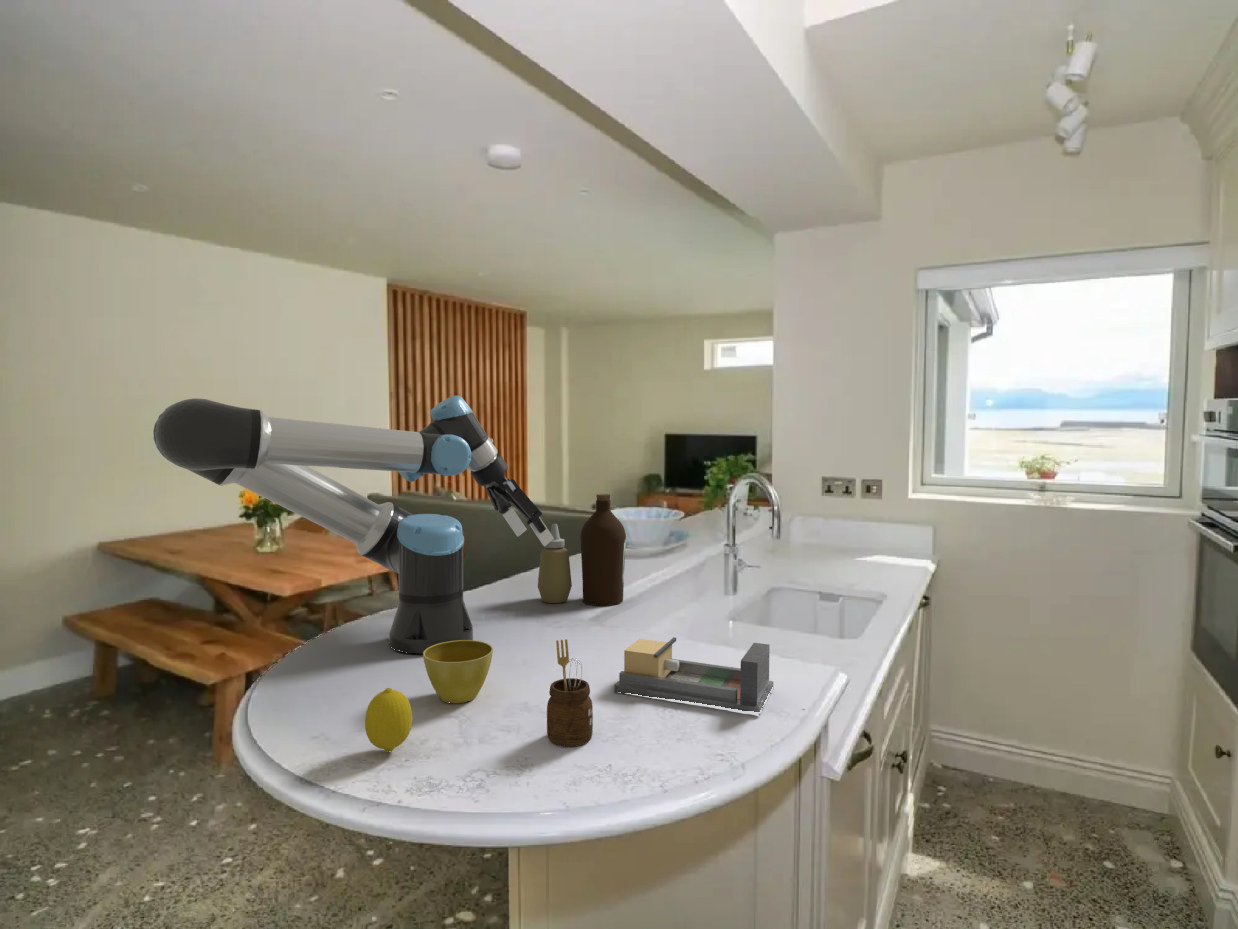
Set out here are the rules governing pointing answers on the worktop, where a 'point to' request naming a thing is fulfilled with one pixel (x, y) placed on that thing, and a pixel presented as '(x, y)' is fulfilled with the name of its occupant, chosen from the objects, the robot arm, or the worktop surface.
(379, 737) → the lemon
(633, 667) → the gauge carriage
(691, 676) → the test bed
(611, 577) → the olive oil
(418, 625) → the robot arm
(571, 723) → the utensil holder
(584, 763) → the worktop surface
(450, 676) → the yellow bowl
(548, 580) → the squeeze bottle
